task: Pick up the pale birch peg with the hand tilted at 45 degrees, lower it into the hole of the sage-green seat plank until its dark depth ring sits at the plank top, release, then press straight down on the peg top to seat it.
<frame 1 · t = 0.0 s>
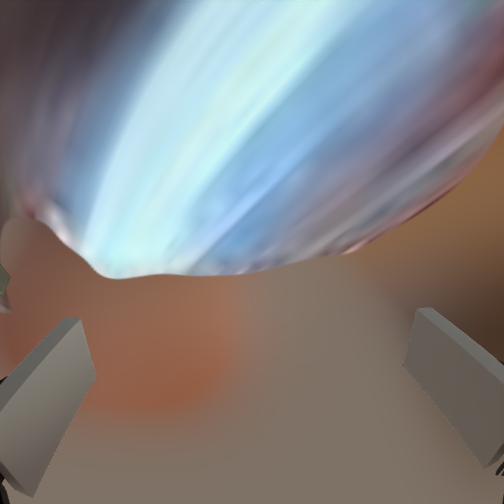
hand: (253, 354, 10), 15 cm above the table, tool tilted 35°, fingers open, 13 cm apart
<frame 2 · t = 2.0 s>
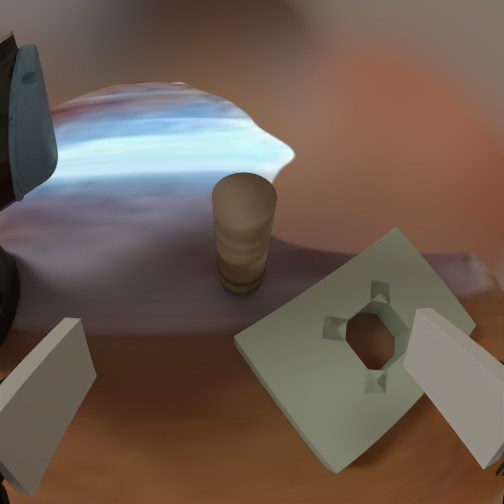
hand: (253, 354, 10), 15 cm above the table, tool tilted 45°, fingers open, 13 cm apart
peg: (241, 279, 29), on the table
seat plank: (366, 343, 26), on the table
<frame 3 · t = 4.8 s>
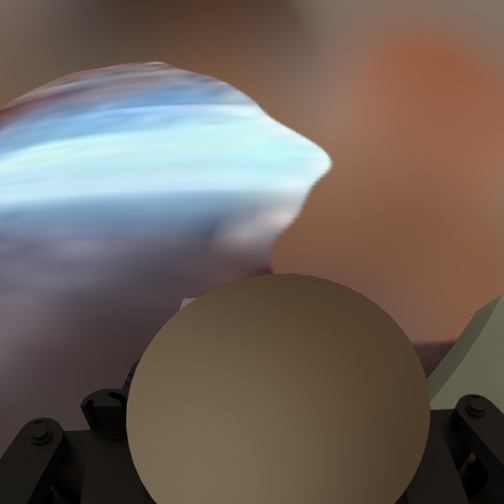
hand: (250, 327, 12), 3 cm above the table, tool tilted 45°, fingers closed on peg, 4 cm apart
peg: (251, 415, 13), on the table, touching gripper
seat plank: (447, 484, 11), on the table
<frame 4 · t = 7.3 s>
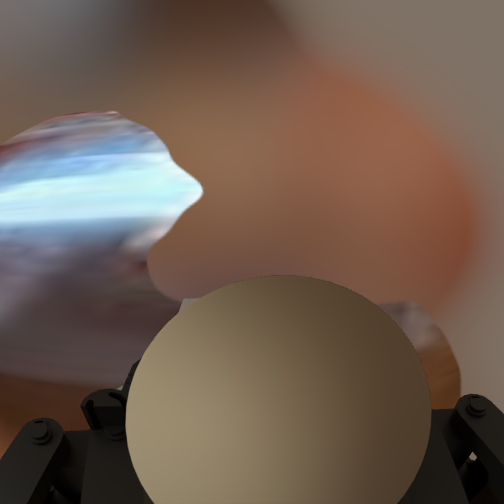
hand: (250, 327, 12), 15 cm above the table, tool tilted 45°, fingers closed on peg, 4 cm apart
peg: (251, 416, 13), point 12 cm above the table, touching gripper
when the fingers open (5 cm above the table, at t = 9.6 s): peg drops 2 cm, resting in seat plank.
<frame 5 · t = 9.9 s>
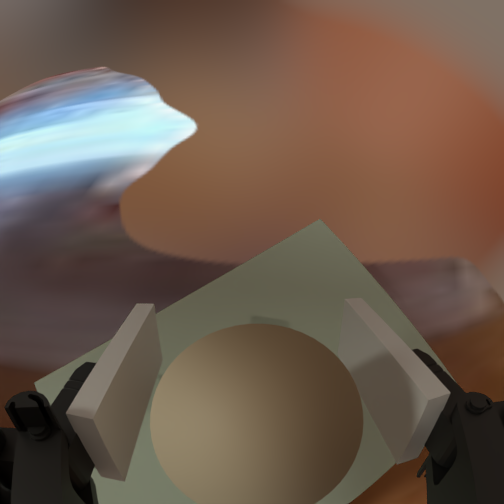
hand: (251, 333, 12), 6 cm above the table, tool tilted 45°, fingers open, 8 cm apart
peg: (250, 416, 15), resting in seat plank
seat plank: (249, 415, 15), on the table
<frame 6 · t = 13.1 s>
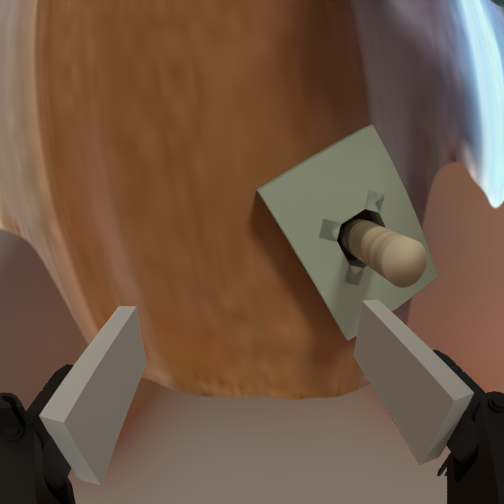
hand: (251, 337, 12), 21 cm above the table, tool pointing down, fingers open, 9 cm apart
peg: (353, 234, 33), resting in seat plank
seat plank: (354, 233, 33), on the table
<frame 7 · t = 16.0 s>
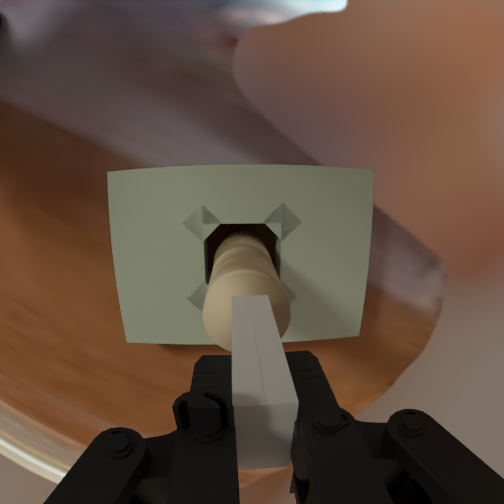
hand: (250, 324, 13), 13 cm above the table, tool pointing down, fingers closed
peg: (241, 252, 25), resting in seat plank
seat plank: (241, 251, 25), on the table
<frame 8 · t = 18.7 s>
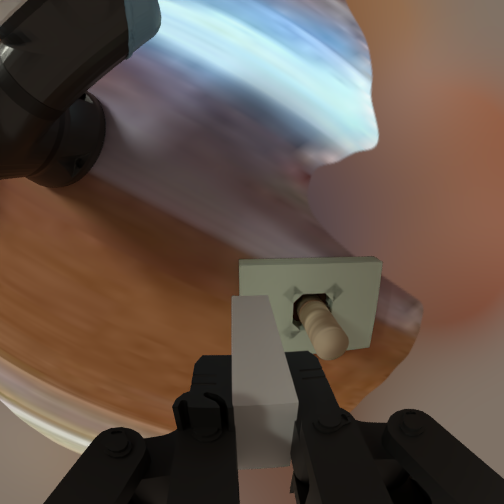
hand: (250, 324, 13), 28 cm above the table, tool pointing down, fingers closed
peg: (307, 304, 44), resting in seat plank
seat plank: (307, 303, 44), on the table
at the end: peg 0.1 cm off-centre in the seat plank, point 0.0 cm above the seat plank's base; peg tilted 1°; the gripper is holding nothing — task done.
